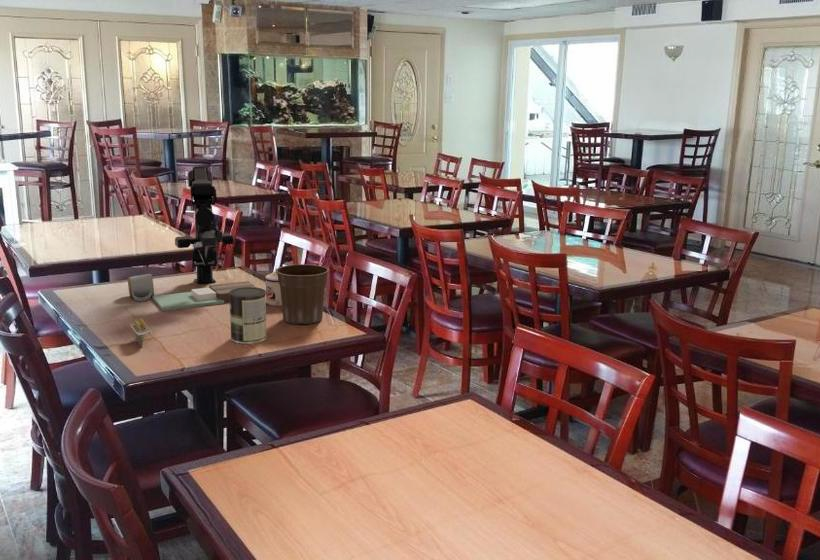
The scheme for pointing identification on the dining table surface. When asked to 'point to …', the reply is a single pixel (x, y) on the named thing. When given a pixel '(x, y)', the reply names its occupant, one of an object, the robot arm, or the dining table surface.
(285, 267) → the plant pot
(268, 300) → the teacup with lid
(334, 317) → the dining table surface
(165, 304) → the sage mat
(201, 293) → the ivory tile
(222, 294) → the walnut deck
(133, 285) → the ceramic mug
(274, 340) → the dining table surface
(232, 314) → the coffee can
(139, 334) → the yellow flower bouquet
